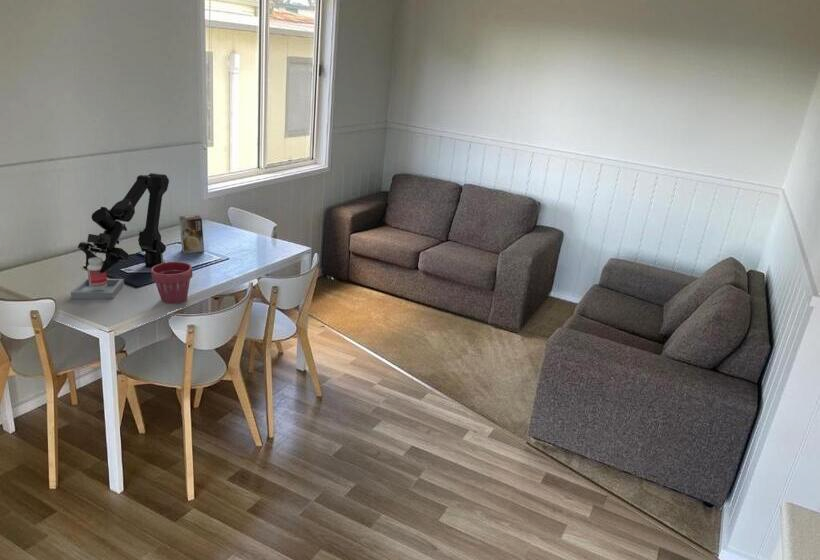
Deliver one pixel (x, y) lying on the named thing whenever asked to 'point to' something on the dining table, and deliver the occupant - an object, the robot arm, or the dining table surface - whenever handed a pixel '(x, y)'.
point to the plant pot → (172, 281)
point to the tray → (97, 290)
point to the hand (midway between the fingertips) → (93, 271)
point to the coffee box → (191, 234)
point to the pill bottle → (96, 273)
